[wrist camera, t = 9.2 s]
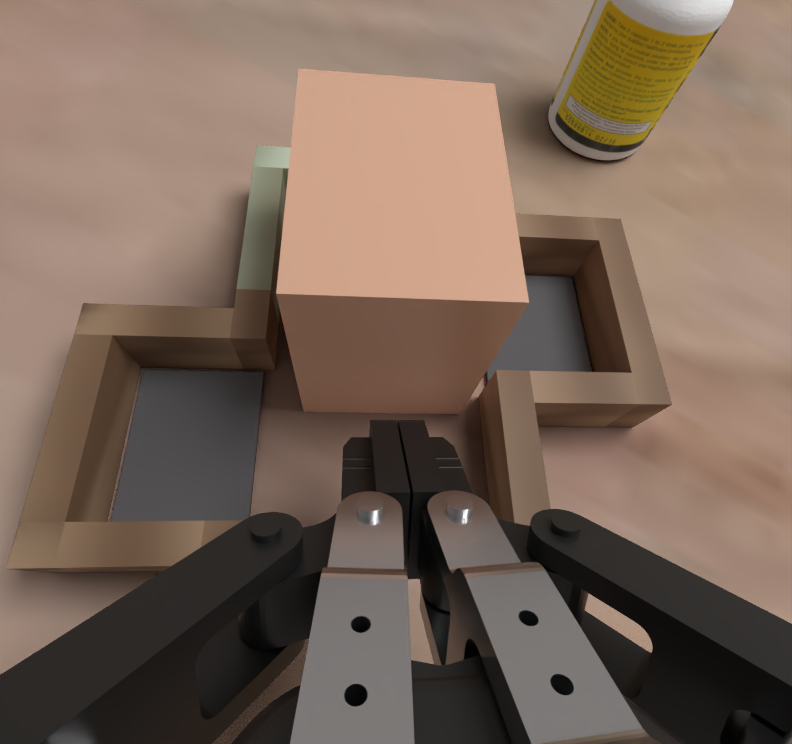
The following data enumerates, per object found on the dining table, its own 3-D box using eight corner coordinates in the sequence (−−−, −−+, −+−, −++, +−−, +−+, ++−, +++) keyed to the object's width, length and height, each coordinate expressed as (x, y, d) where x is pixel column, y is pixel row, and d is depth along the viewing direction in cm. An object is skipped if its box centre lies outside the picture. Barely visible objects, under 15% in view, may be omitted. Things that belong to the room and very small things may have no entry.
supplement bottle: (651, 168, 26) (811, -55, 17) (552, 160, 25) (663, -74, 16) (630, 100, 28) (762, -129, 19) (539, 91, 28) (631, -147, 19)
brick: (303, 412, 18) (276, 293, 11) (314, 244, 22) (298, 68, 14) (459, 414, 19) (529, 302, 12) (446, 250, 22) (494, 83, 15)
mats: (112, 526, 16) (109, 525, 16) (168, 264, 20) (166, 261, 20) (619, 520, 18) (622, 519, 18) (569, 279, 22) (571, 277, 22)
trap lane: (19, 717, 14) (-45, 742, 11) (153, 184, 22) (131, 137, 20) (695, 687, 16) (754, 703, 13) (581, 207, 24) (606, 167, 22)
